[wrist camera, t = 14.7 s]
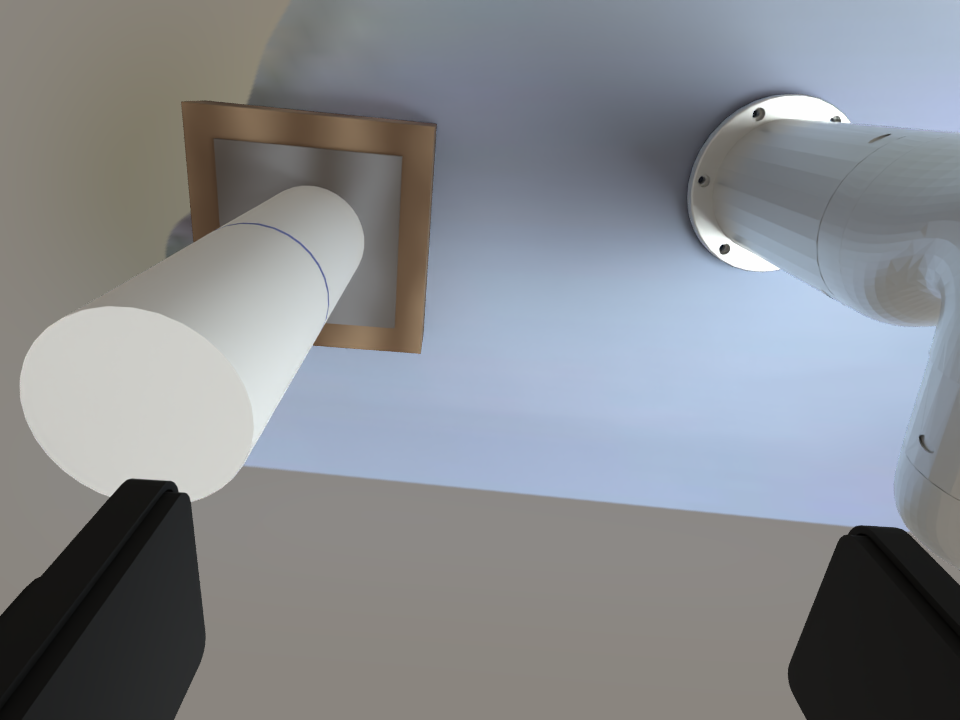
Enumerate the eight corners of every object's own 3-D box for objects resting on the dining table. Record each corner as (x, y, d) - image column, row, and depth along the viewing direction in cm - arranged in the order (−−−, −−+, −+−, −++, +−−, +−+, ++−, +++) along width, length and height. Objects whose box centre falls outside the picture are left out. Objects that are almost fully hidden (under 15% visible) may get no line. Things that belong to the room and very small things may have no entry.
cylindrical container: (385, 250, 43) (300, 433, 20) (307, 308, 45) (146, 540, 22) (316, 163, 41) (130, 258, 18) (236, 227, 42) (-31, 391, 19)
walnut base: (436, 123, 44) (434, 127, 40) (423, 334, 50) (420, 355, 46) (204, 100, 43) (178, 101, 39) (221, 318, 49) (199, 339, 45)
